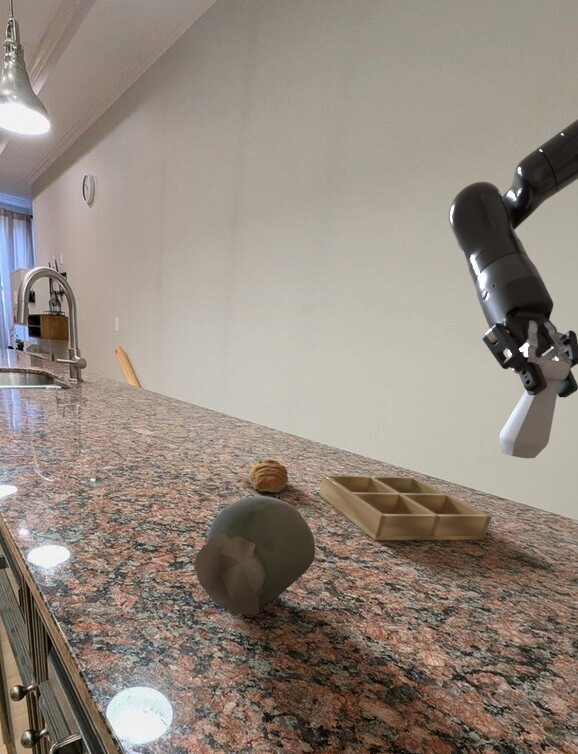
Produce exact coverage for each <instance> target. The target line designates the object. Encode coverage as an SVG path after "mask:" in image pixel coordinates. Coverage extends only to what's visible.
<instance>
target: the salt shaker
mask: <svg viewBox="0 0 578 754" xmlns="http://www.w3.org/2000/svg"><path fill="white" fill-rule="evenodd" d="M535 363H536V364H539V367H540V369H541V371H542V374H543V376H544V378H545V380H546V383H547V387H546V389H544V390H543V391H541V392H540V393H538V394H537V395H528V393H527V390H526V389H525V391H524V392H523V394H522V395H521V397H520V398H519V401H518V403H517V404H516V406H515V407H514V409H513V411H512V413H511V414H510V416H509V417H508V419H507V421H506V422H505V424H504V426H503V428H502V429H501V431H500V433H499V438H498V439H499V443H500V453H502V454H505V455H507V456H511V457H513V458H521V459H526V460H527V459H536V458H537V456H539V454H540V453H541V452H542V451H543V450H544V449H546V447H547V446H548V444H549V442H550V437H551V436H550V435H551V430H552V426H553V419H554V414H555V408H556V403H557V398H558V394H557V392H558V387H559V381H561V380H564V379H565V378H566V377H567V375H568V373H569V370H570V366H569V364H568V363H566V362H563V361H556V359H555V360H554V359H552V360H536V362H535ZM533 364H534V363H533Z"/></svg>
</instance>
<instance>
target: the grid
mask: <svg viewBox="0 0 578 754" xmlns="http://www.w3.org/2000/svg"><path fill="white" fill-rule="evenodd" d="M321 479H322V480H321V484H320V489H319V493H318V495H319V496H320V497H321V498H322V499H323V500H325V501H326V502H327V503H328V504H329V505H331V506H332V507H333V508H335V509H336V510H337V511H338V512H340V514H342V515H343V516H344V517H345V518H347V520H349V521H350V522H352V523H353V524H354V525H355V526H357V527H358V528H359V529H360V530H362V531H363V532H364V533H365V534H366V535H367V536H369V537H370V538H372V539H373V541H472V540H473V541H478V540H479V541H481V540H482V541H483V540H484V539H485V537H486V534H487V531H488V528H489V526H490V524H491V521H492V515H490V514H488V513H486V512H484V511H482V510H480V509H478V508H477V507H474V506H472V505H470V504H468V503H466V502H464V501H462V500H460V499H458V498H456V497H454V496H452V495H450V494H448V493H446V492H444V491H443V490H441V489H439V488H437V487H434V486H432V485H431V484H429V483H427V482H425V481H423V480H421V479H419V478H417V477H413V476H382V475H380V476H379V475H345V474H344V475H341V474H340V475H339V474H323V475H322V478H321Z"/></svg>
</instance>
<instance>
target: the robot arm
mask: <svg viewBox="0 0 578 754" xmlns="http://www.w3.org/2000/svg"><path fill="white" fill-rule="evenodd" d="M577 180H578V119H576V120H574V121H573V122H571V123H570V124H568V125H567V126H566V127H564V128H563V129H562V130H560V131H559V132H557V133H556V134H554V135H553V136H552V137H551V138H549V139H548V140H546V141H545V142H543V144H541V145H540V146H538V147H537V148H536V149H534V150H533V151H531V152H530V153H529V154H527V155H526V156H525V157H524V158H522V159H521V160H520V161H519V162H518V163H517V165H516V167H515V168H514V173H513V180H512V183H511V186H509V189H507V191H506V192H505V193H504V194H503V195H502V193H501V191H500V189H499V188H498V187H497V186H496V185H495V184H493V183H492V182H489V181H476V182H473V183H471V184H468V185H467V186H465V187H463V188H462V189H461V190H460V191H459V192H458V193H457V194H456V195H455V197H454V199H452V202H451V204H450V207H449V210H448V215H447V216H448V218H447V219H448V223H449V226H450V229H451V231H452V233H453V235H454V238H455V241H456V243H457V246H458V248H459V249H460V250H461V252H463V254H464V257H465V260H466V265H467V270H468V272H469V276H470V277H471V280H472V283H473V285H474V288H475V290H476V297H477V300H478V303H479V306H480V308H481V310H482V312H483V315H484V317H485V319H486V322H487V325H488V328H489V329H488V330H487V331H486V332H485V333H484V334H483V335H481V339H482V342H484V344H485V345H486V347H487V348H488V350H489V351H490V353H491V354H492V355H493V357H494V359H495V360H496V361H497V363H498V364H499V365H500V367H501V368H502V369H504V370H508V369H512V371H513V372H514V373H515V374H517V375H519V379H520V380H521V383H522V384H523V388H524V389H525V391H526V390H527V393H528V395H537V394H538V393H540V392H541V391H543V390H544V389H546V387H547V383H546V380H545V378H544V376H543V374H542V371H541V369H540V367H539V364H536V363H535V362H536V360H554V359H555V360H556V361H563V362H566V363H568V364H569V366H570V370H569V373H568V375H567V377H566V378H565V379H564V380H561V381H559V387H558V392H557V397H558V398H567V397H569V396H572V394H574V393H576V392H577V391H578V383H577V380H576V379H575V376H574V374H573V371H572V370H571V369H572V368H574V367H575V366H576V365H578V337H577V333H576V332H575V331H574V330H568V331H567V332H566V333H563V332H559V331H558V329H557V327H556V326H555V325H554V323H552V321H551V320H550V318H551V315H552V312H553V309H554V301H553V299H552V297H551V295H550V293H549V290H548V289H547V287H546V284H545V282H544V280H543V277H542V276H541V274H540V272H539V270H538V268H537V266H536V265H535V264H534V263H533V261H532V259H530V257H529V255H528V253H527V251H526V248H525V247H524V245H523V243H522V240H521V239H520V238H519V236H518V234H517V233H516V231H515V230H516V229H517V228H518V227H519V226H520V225H521V224H523V223H524V222H525V221H526V220H527V219H528V218H529V217H530V216H531V215H532V214H533V213H534V212H535V211H536V210H537V209H538V208H539V207H540V206H541V205H542V204H543V203H544V202H545V201H547V200H548V199H550V198H551V197H553V196H555V195H556V194H558V193H559V192H561V191H563V189H565V188H567V187H568V186H570V185H571V184H573V183H574V182H576V181H577ZM550 349H551V350H550ZM506 350H507V355H508V356H506V355H505V354H504V352H505V351H506ZM549 350H550V351H549ZM545 353H546V354H545ZM533 363H534V364H533Z"/></svg>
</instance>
